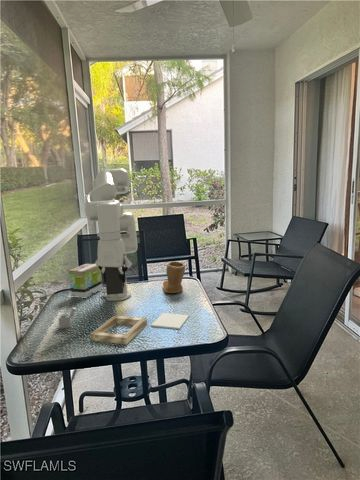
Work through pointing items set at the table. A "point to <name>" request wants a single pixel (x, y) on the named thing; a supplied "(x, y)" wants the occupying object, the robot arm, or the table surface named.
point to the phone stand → (113, 281)
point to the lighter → (66, 319)
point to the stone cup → (174, 277)
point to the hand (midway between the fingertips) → (115, 282)
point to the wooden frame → (117, 338)
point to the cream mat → (170, 321)
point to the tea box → (85, 280)
